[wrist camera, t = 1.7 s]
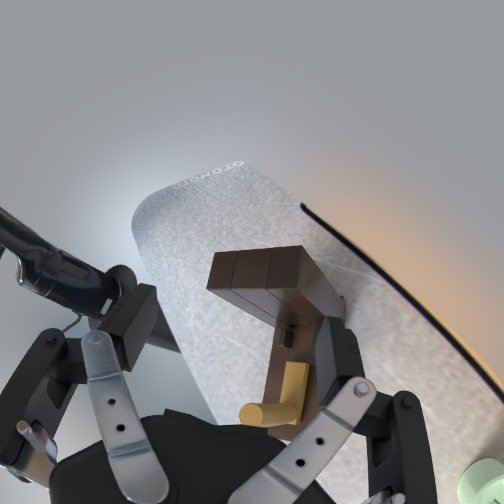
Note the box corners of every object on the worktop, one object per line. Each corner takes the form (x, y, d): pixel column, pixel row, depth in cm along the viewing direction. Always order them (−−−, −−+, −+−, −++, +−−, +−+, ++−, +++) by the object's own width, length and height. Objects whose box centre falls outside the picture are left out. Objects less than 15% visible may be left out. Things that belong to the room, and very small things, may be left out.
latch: (326, 444, 24) (264, 475, 13) (262, 432, 27) (174, 442, 17) (346, 300, 30) (302, 238, 19) (285, 300, 33) (215, 245, 23)
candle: (454, 469, 16) (469, 495, 10) (501, 449, 14) (531, 465, 8) (457, 510, 13) (468, 545, 7) (503, 490, 11) (528, 516, 5)
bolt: (300, 424, 24) (260, 431, 18) (280, 420, 25) (236, 425, 19) (310, 364, 27) (274, 351, 20) (290, 362, 28) (250, 349, 21)
